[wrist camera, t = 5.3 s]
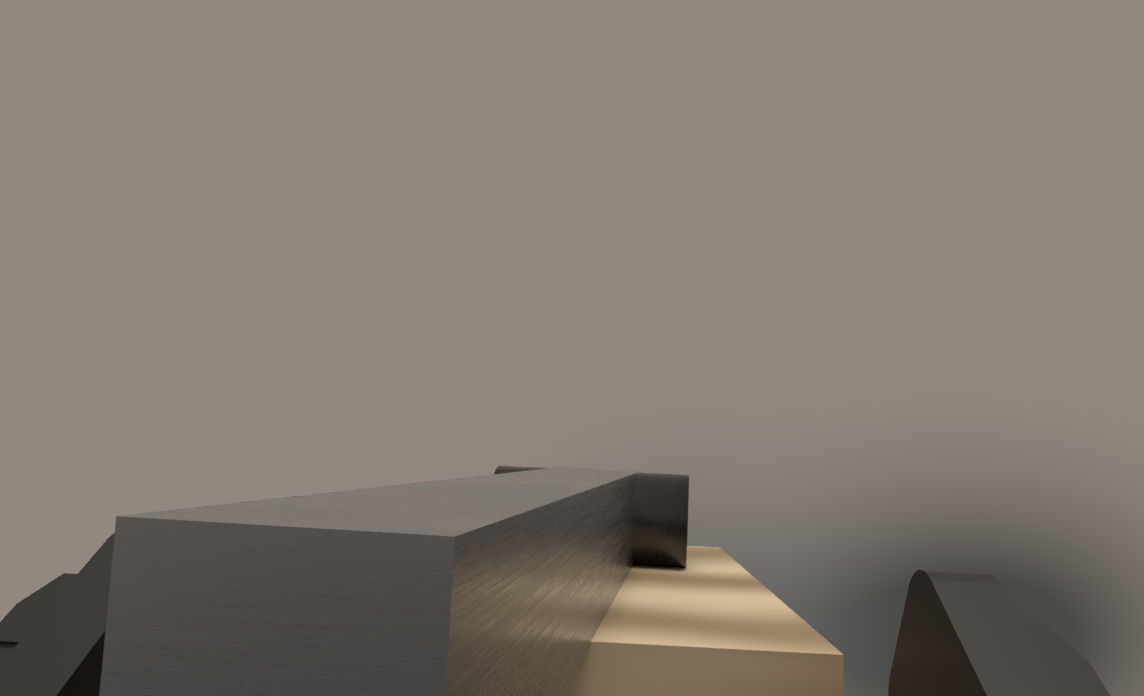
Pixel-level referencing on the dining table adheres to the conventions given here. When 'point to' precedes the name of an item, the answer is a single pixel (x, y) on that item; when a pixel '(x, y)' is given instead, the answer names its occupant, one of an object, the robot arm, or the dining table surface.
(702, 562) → the oak stand
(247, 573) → the grey long bar
